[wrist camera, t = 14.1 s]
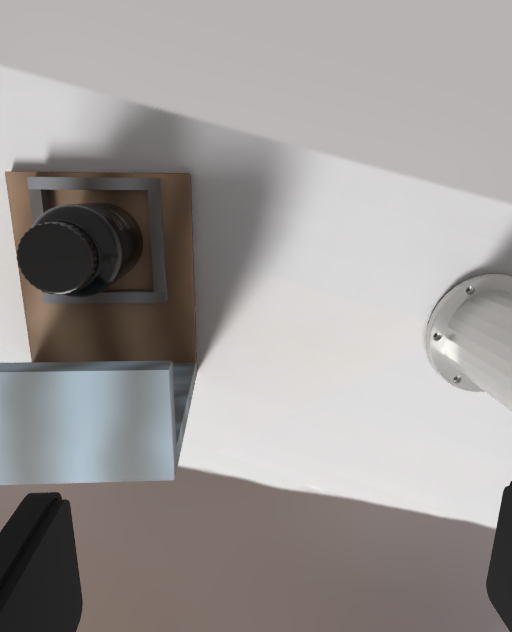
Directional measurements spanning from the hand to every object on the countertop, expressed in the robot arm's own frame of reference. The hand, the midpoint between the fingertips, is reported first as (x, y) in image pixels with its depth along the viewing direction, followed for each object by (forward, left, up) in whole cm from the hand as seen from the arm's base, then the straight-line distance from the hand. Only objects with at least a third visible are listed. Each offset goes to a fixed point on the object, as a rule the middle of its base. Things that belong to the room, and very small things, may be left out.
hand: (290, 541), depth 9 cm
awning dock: (+13, 0, -33) cm, 36 cm away
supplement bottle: (+13, -3, -32) cm, 35 cm away
